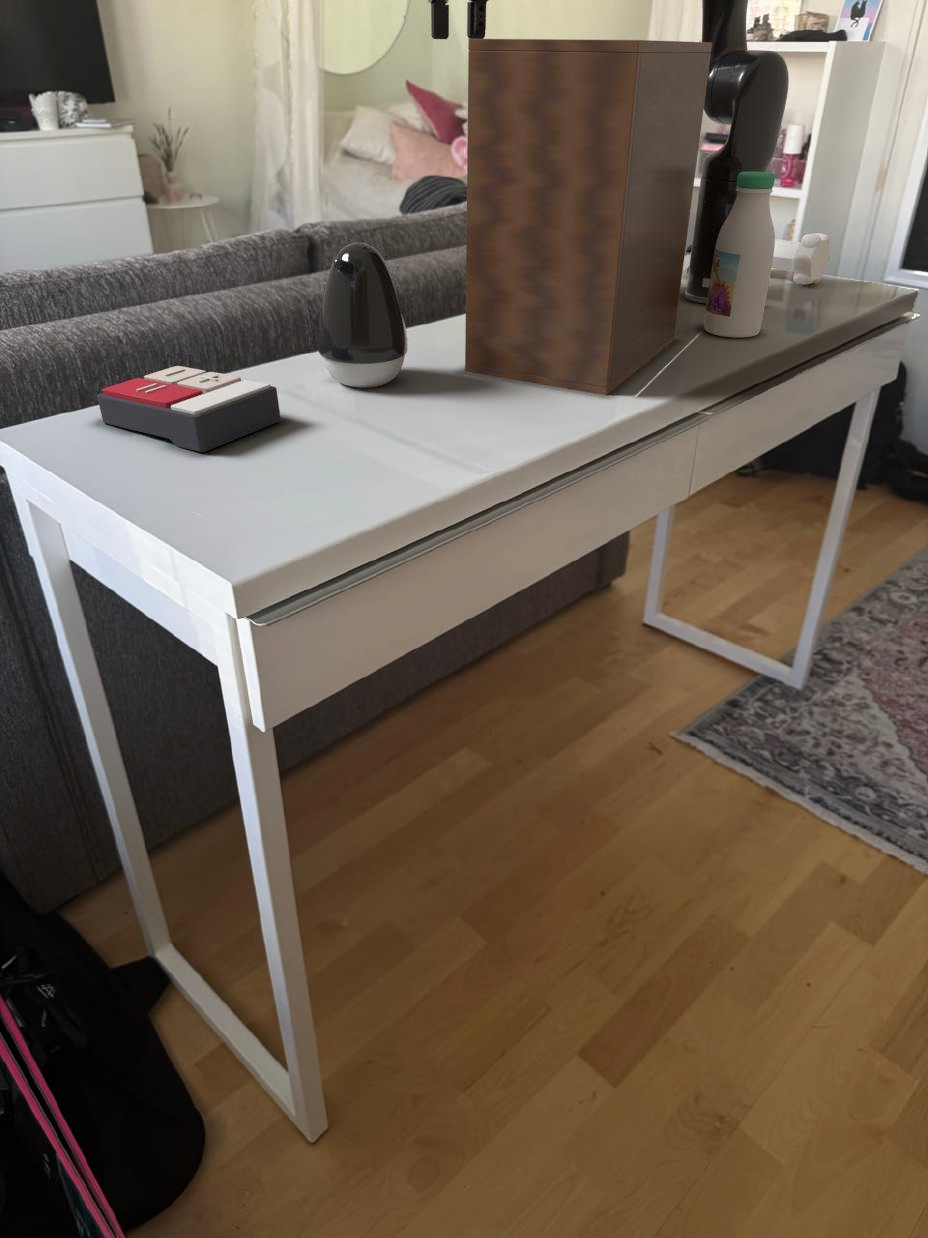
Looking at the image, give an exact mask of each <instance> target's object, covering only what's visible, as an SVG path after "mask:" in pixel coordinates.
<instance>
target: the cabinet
mask: <svg viewBox="0 0 928 1238" xmlns="http://www.w3.org/2000/svg"><path fill="white" fill-rule="evenodd" d="M467 43H468V47H467V48H468V51H467V53H468V55H467V59H468V62H467V65H468V66H467V68H468V69H467V142H466V143H467V144H466V145H467V146H466V147H467V149H466V150H467V151H466V154H467V157H466V158H467V159H466V160H467V161H466V238H465V241H466V246H465V248H466V249H465V251H466V254H465V255H466V256H465V332H464V333H465V334H464V335H465V336H464V337H465V344H464V345H465V346H464V347H465V348H464V372H465V373H471V374H476V375H477V374H478V375H483V376H489V377H495V378H502V379H507V380H511V381H517V382H518V381H519V382H524V383H530V384H536V385H542V386H548V387H553V388H560V389H566V390H572V391H578V392H585V393H590V394H596V395H600V396H601V395H602V396H607V395H608V394H609V393H611V392H612V391H613V390H615V389H616V388H617V387H619V386H620V385H621V384H622V383H623V382H625V381H626V380H627V379H628V378H629V377H631V376H632V375H633V374H634V373H636V372H637V371H638V370H640V369H641V368H642V367H643V366H645V365H646V364H647V363H648V362H649V361H651V360H652V359H653V358H654V357H655V356H657V355H659V354H660V353H661V352H662V351H663V350H664V349H666V348H667V347H668V346H669V345H671V344H672V343H673V342H674V340H675V332H676V325H677V316H678V309H679V302H680V294H681V286H682V279H683V272H684V270H683V269H684V263H685V255H686V249H687V239H688V233H689V224H690V216H691V210H692V201H693V194H694V193H693V192H694V187H695V179H696V172H697V162H698V155H699V147H700V141H701V132H702V125H703V124H702V123H703V116H704V102H705V94H706V86H707V79H708V71H709V63H710V55H711V48H712V42H702V41H681V40H679V41H678V40H654V39H653V40H651V39H650V40H649V39H565V38H564V39H561V38H560V39H556V38H554V39H553V38H548V39H547V38H546V39H545V38H483V39H469V38H468V42H467Z"/></svg>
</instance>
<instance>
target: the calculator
mask: <svg viewBox="0 0 928 1238" xmlns="http://www.w3.org/2000/svg"><path fill="white" fill-rule="evenodd" d="M101 390H102V392H100V393H98V394H97V395H96V397H97V402H98V406H99V410H100V414H101V419H102V422H103V423H104V424H106V425H110V426H113V427H114V426H115V427H118V428H122V429H128V430H131V431H136V432H140V433H144V434H146V435H151V436H157V437H160V438H164V439H169V440H170V441H171V442H172V443H173V444H174V445H175V446H176V447H178V448H182V449H186V450H190V451H195V452H199V453H205V452H208V451H210V450H213V449H216V448H218V447H220V446H222V445H225V444H227V443H230V442H233V441H235V440H237V439H241V438H243V437H245V436H247V435H249V434H252V433H254V432H258V431H259V430H262V429H264V428H267V427H269V426H272V425H274V424H276V423H279V422H281V420H282V419H281V418H282V417H281V411H280V404H279V397H278V389H277V387H276V386H272V385H271V384H270V383H266V382H262V381H255V380H249V379H243V380H242V378H241V377H240V376H236V375H232V374H226V373H222V372H221V373H220V372H215V371H208V372H207V371H206V370H203V369H198V368H193V367H188V366H181V365H174V366H172V367H167V368H165V369H162V370H159V371H155V372H152V373H149V374H146V375H144V376H143V378H142V377H137V378H133V379H130V380H126V381H124V382H119V383H117V384H113V385H109V386H107V387H104V388H102V389H101Z"/></svg>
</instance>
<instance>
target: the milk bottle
mask: <svg viewBox="0 0 928 1238" xmlns="http://www.w3.org/2000/svg"><path fill="white" fill-rule="evenodd" d="M775 180H776V176H775V174H774V173H772V172H768V171H767V172H741V173H739V175H738V178H737V188H736V191H737V197H736V200H735V203H734V205H733V208H732V210H731V212H730V214H729V215H728V217H727V219H726V221H725V222H724V224H723V226H722V228H721V230H720V232H719V235H718V239H717V242H716V247H715V253H714V258H713V264H712V271H711V277H710V284H709V291H708V297H707V304H705V312H704V317H703V318H704V319H703V329H704V331H706V332H707V333H709V334H712V335H715V336H720V337H724V338H725V337H726V338H751V337H754V336H757V335H758V334H759V333H760V331H761V328H762V323H763V318H764V313H765V306H766V301H767V297H768V291H769V290H768V289H769V284H770V279H771V274H772V273H771V272H772V269H773V268H772V262H773V255H774V248H775V239H776V233H775V227H774V222H773V218H772V214H771V206H770V196H771V194H772V193H773V191H774V190H773V188H774V185H775Z"/></svg>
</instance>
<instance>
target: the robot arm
mask: <svg viewBox="0 0 928 1238" xmlns="http://www.w3.org/2000/svg"><path fill="white" fill-rule="evenodd" d="M489 1H490V0H468V1H467V6H466V8H467V10H466V18H467V19H466V36H467V38H468V39H485V37H486V29H487V23H486V22H487V3H488V2H489ZM427 2H428V3H429V4H430V27H431V28H430V31H431V33H430V35H431V38H432V39H433V40H448V39H449V37H450V4H448V3H449V0H427ZM748 4H749V0H701V14H702V15H701V17H702V19H701V21H702V22H701V42H712V48H711V55H710V63H709V71H708V79H707V86H706V94H705V102H704V109H703V112H705V115H706V116H707V118H708V119H709V120H710V121H712V122H714V123H716V124H721V125H729V126H730V127H729V132H728V136H727V140H726V142H725V143H724V144H723V145H722V146H721V147H720V148H719V149H717V150H715V151H714V152H711V153H709V154H707V155H706V156H705V157H704V158H703V161H702V167H701V175H700V176H701V177H700V180H699V181H700V182H699V190H698V197H697V205H696V213H695V220H694V227H693V228H694V229H693V235H692V243H691V244H690V245H689V246H687V247H686V249H685V254H690V258H689V266H688V267H687V268H686V273H687V280H686V288H685V289H684V298H685V299H686V300H687V301H690V302H694V303H698V304H702V305H706V304H707V297H708V291H709V284H710V277H711V271H712V264H713V258H714V253H715V247H716V242H717V239H718V235H719V232H720V230H721V228H722V226H723V224H724V222H725V221H726V219H727V217H728V215H729V214H730V212H731V210H732V208H733V205H734V203H735V200H736V197H737V191H736V188H737V178H738V175H739V173H741V172H767V173H768V169H769V166H770V164H771V163H772V161H773V159H774V157H775V156H774V155H775V153H776V150H777V146H778V142H779V137H780V132H781V128H782V125H783V124H782V123H783V118H784V115H785V109H786V105H787V100H788V95H789V94H788V93H789V82H790V78H789V77H790V76H789V69H788V65H787V62H786V60H785V58H784V57H783V56H782V55H781V54H780V53H778V52H776V51H773V50H761V49H749V48H748V40H747V39H748V38H747V37H748V36H747V16H748V15H747V14H748V6H749V5H748Z"/></svg>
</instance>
